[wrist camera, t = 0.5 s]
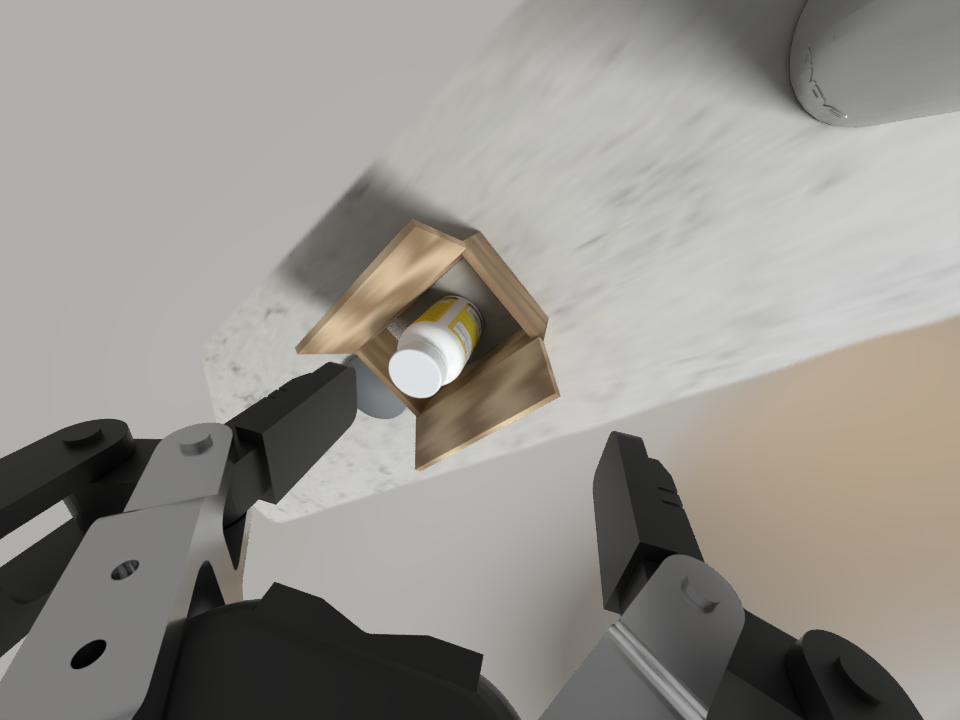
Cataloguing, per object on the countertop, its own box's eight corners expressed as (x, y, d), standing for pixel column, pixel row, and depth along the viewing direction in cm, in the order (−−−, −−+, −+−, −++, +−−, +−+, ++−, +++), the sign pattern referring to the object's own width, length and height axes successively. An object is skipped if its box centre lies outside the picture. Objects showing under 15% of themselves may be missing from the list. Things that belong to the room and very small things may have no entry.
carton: (460, 206, 27) (409, 218, 19) (565, 339, 30) (560, 398, 22) (360, 308, 34) (292, 349, 26) (454, 408, 37) (419, 473, 29)
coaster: (371, 341, 35) (368, 343, 35) (424, 396, 37) (421, 399, 37) (332, 377, 39) (328, 380, 39) (381, 425, 41) (378, 429, 40)
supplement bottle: (422, 332, 33) (370, 383, 25) (441, 283, 31) (389, 324, 22) (471, 358, 33) (435, 418, 25) (494, 312, 31) (462, 362, 22)
